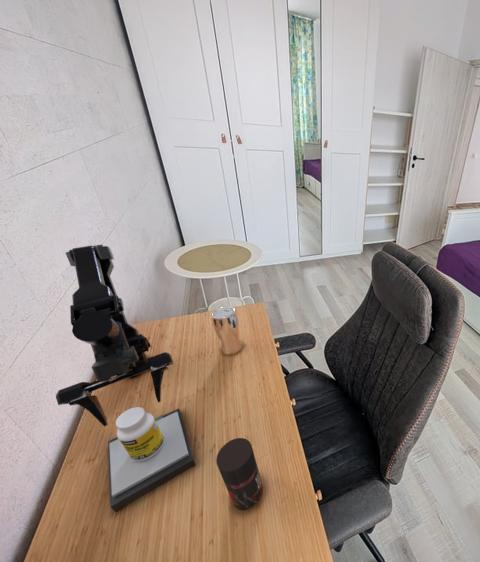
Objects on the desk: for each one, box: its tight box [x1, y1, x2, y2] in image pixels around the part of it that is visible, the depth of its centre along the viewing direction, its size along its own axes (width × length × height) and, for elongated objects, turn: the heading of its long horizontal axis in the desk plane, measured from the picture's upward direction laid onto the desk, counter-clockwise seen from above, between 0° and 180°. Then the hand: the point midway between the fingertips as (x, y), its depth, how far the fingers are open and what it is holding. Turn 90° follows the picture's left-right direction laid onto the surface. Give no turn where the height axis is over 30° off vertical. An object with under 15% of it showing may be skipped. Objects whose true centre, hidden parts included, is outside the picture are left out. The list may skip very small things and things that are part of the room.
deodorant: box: [215, 437, 264, 511], centre depth 55 cm, size 6×6×15 cm
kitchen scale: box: [107, 408, 197, 513], centre depth 63 cm, size 16×14×3 cm
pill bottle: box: [115, 406, 164, 461], centre depth 60 cm, size 6×6×11 cm
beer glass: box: [210, 305, 243, 356], centre depth 90 cm, size 7×7×15 cm
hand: (133, 413), depth 61 cm, fingers open, 9 cm apart
